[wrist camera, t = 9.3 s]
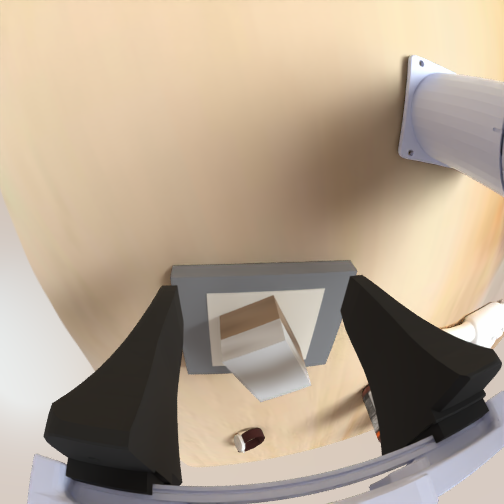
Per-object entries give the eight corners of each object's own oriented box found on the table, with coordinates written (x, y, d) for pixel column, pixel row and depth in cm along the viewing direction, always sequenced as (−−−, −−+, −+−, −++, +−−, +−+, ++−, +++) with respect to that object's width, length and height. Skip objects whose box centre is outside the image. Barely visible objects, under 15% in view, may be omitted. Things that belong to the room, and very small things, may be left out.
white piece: (437, 323, 31) (454, 348, 27) (506, 286, 30) (523, 305, 26) (421, 365, 36) (433, 388, 32) (487, 330, 36) (500, 347, 32)
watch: (240, 424, 37) (242, 445, 34) (269, 424, 38) (273, 444, 35) (229, 440, 41) (231, 459, 38) (255, 441, 42) (257, 458, 39)
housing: (299, 345, 25) (311, 385, 21) (254, 361, 26) (260, 402, 22) (273, 294, 21) (285, 339, 18) (219, 315, 22) (222, 362, 18)
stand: (350, 260, 23) (357, 271, 21) (321, 353, 29) (325, 364, 27) (172, 265, 21) (170, 278, 19) (188, 362, 27) (188, 375, 26)
